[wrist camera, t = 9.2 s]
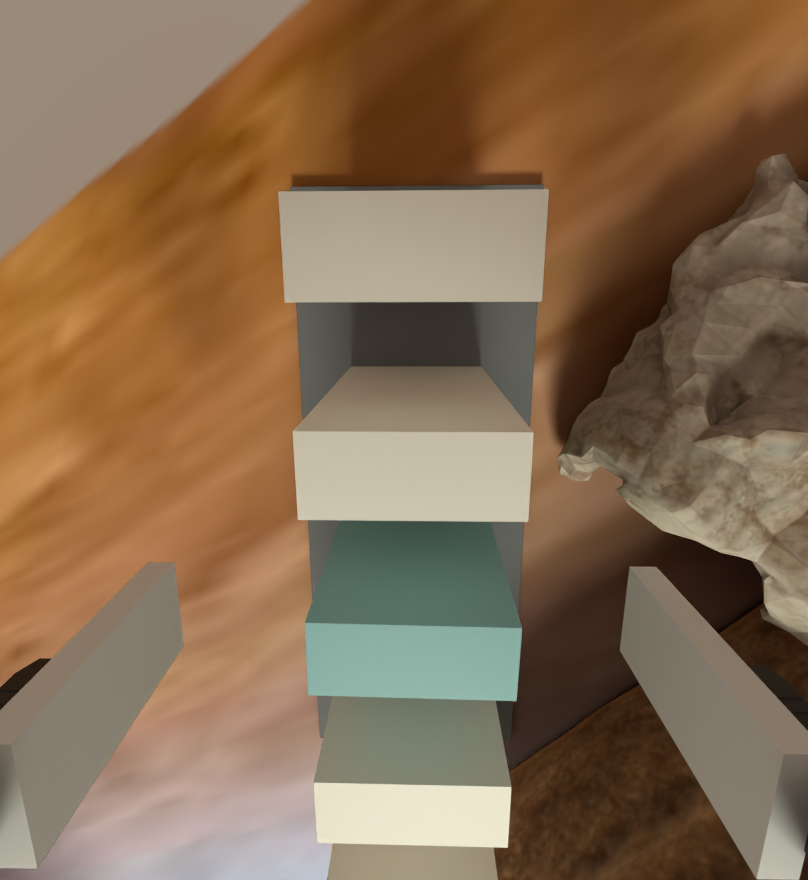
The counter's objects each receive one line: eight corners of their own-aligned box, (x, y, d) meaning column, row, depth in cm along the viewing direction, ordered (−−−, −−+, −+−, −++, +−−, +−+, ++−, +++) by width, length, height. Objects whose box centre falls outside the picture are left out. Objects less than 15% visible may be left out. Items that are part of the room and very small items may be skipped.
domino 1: (483, 296, 20) (542, 301, 10) (349, 296, 20) (284, 302, 11) (485, 238, 20) (548, 189, 10) (347, 239, 20) (278, 191, 10)
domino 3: (472, 622, 24) (507, 847, 14) (358, 620, 24) (317, 842, 14) (473, 581, 23) (511, 786, 14) (357, 579, 23) (313, 782, 14)
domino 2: (479, 417, 21) (528, 521, 12) (352, 416, 21) (297, 520, 12) (480, 366, 21) (534, 432, 11) (351, 366, 21) (292, 431, 11)
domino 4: (469, 709, 25) (500, 971, 15) (361, 707, 25) (324, 965, 16) (470, 672, 24) (503, 920, 15) (360, 670, 25) (321, 915, 15)
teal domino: (475, 525, 23) (516, 700, 13) (355, 523, 23) (308, 695, 13) (477, 480, 22) (521, 628, 12) (354, 478, 22) (304, 622, 13)
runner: (509, 734, 26) (510, 741, 25) (321, 730, 26) (320, 737, 26) (542, 186, 19) (544, 184, 19) (292, 188, 20) (289, 186, 19)
